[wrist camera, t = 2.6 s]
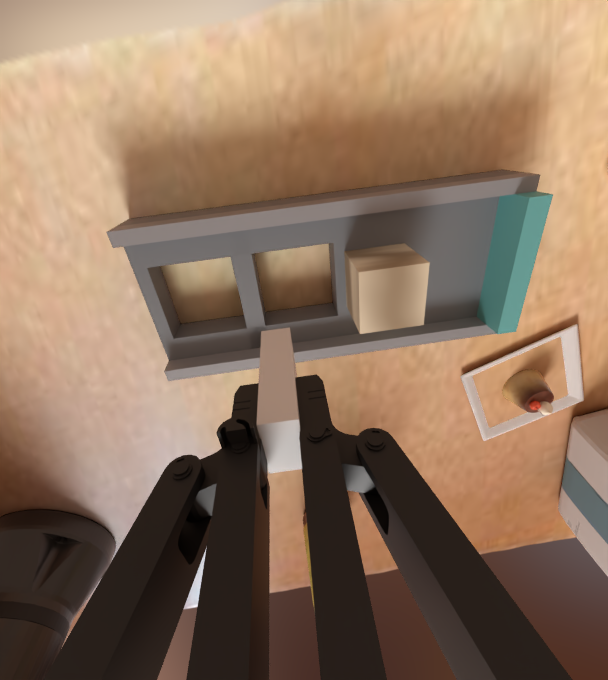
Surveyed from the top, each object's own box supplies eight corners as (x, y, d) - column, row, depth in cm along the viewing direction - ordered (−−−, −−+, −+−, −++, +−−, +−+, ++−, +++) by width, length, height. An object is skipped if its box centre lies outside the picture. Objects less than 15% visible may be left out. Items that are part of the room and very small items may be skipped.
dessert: (455, 369, 35) (479, 399, 31) (569, 318, 33) (611, 343, 29) (478, 434, 41) (501, 467, 37) (576, 394, 39) (612, 424, 35)
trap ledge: (179, 354, 30) (163, 393, 26) (129, 219, 24) (95, 238, 19) (476, 311, 31) (513, 342, 26) (502, 169, 25) (557, 177, 20)
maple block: (346, 306, 27) (359, 334, 23) (344, 251, 24) (358, 272, 20) (401, 298, 27) (423, 325, 23) (404, 243, 24) (429, 262, 21)
